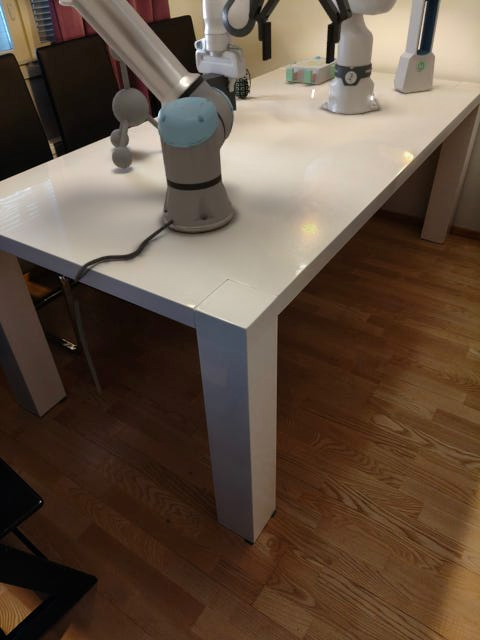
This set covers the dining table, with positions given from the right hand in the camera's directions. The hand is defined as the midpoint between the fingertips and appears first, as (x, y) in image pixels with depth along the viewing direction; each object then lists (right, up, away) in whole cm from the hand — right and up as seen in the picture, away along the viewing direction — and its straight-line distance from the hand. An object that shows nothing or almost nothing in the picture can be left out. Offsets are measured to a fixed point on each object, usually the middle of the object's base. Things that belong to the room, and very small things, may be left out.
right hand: (222, 89), depth 164 cm
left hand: (+18, -26, -66) cm, 73 cm away
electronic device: (+71, +10, +21) cm, 75 cm away
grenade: (+7, +8, +23) cm, 26 cm away
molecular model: (-21, -29, -22) cm, 42 cm away
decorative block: (+37, +25, +44) cm, 63 cm away
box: (-6, -9, -1) cm, 11 cm away
